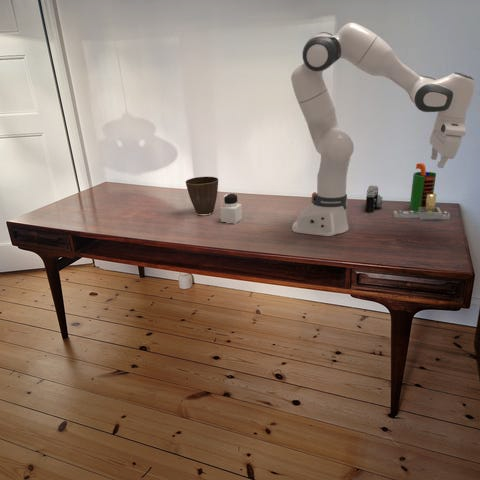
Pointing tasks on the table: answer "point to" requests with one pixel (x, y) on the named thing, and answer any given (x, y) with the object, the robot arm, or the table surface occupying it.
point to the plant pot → (203, 193)
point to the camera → (372, 199)
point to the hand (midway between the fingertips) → (436, 163)
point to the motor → (421, 187)
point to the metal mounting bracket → (423, 214)
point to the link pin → (430, 202)
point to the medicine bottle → (231, 209)
